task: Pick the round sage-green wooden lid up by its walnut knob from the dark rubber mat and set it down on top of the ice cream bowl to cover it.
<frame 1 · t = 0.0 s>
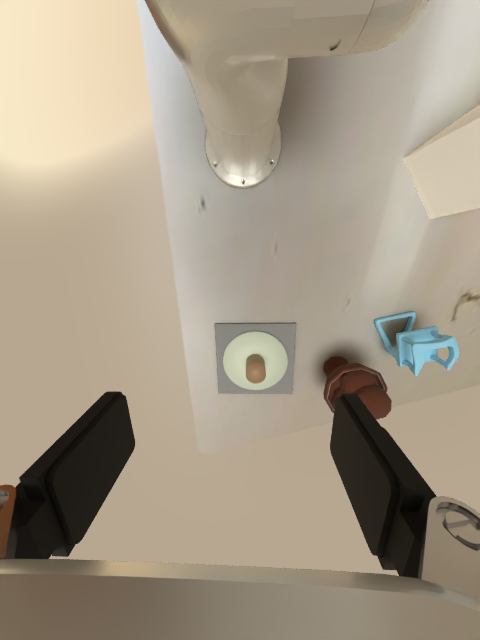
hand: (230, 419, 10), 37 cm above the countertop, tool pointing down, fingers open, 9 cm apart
ice cream bowl: (335, 367, 50), on the countertop
milk: (450, 166, 38), on the countertop
chair: (393, 333, 47), on the countertop
mat: (255, 359, 50), on the countertop
lid: (255, 360, 49), point 1 cm above the countertop, touching mat
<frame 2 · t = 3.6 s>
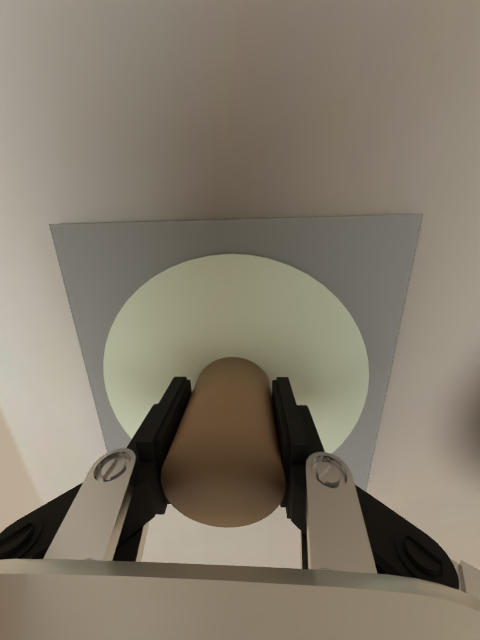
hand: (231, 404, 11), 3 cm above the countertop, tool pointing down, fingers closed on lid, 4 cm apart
mat: (234, 376, 13), on the countertop
lid: (234, 382, 13), point 1 cm above the countertop, touching gripper, mat
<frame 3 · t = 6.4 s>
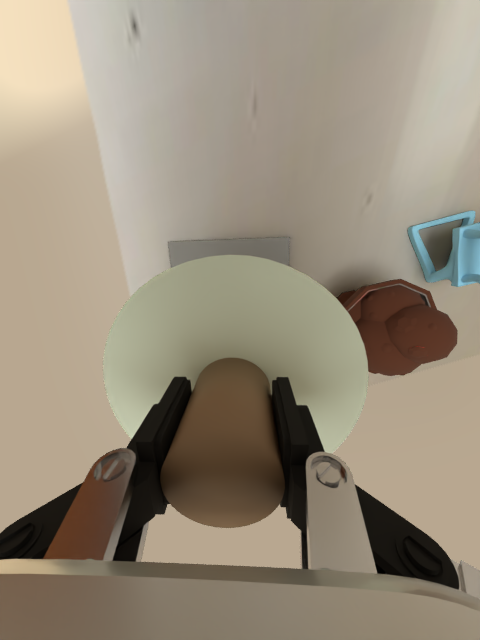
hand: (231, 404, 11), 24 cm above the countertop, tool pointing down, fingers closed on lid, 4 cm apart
ice cream bowl: (349, 308, 34), on the countertop
chair: (436, 250, 31), on the countertop
mat: (231, 298, 34), on the countertop
lid: (233, 382, 13), point 22 cm above the countertop, touching gripper
when the fingers open (18 cm above the countertop, at t = 9.3 s): lid drops 1 cm, resting on ice cream bowl.
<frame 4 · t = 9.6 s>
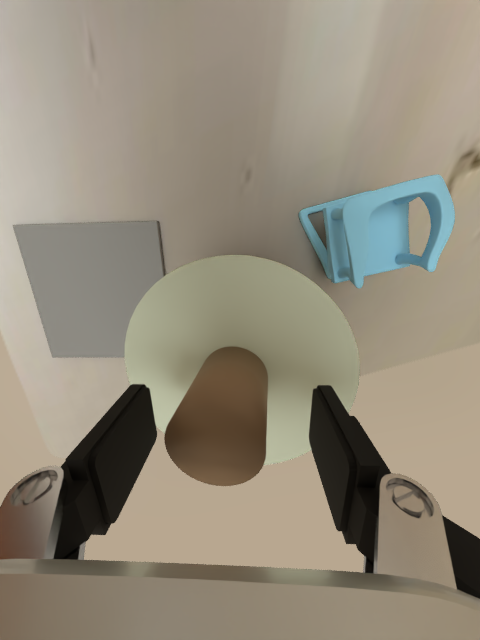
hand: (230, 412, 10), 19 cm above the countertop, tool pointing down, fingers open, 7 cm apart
chair: (336, 240, 26), on the countertop
mat: (102, 295, 29), on the countertop
lid: (236, 370, 14), point 15 cm above the countertop, tilted 5°, touching ice cream bowl
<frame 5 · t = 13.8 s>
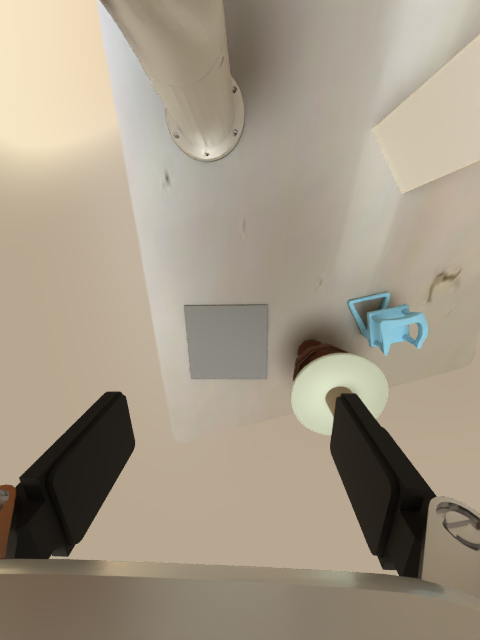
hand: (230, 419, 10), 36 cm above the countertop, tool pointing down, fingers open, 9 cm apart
ice cream bowl: (310, 351, 48), on the countertop, touching lid
milk: (421, 138, 36), on the countertop
chair: (368, 315, 45), on the countertop
mat: (227, 343, 48), on the countertop
lid: (337, 394, 34), point 15 cm above the countertop, touching ice cream bowl
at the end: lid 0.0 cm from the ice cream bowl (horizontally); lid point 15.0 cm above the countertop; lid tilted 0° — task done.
